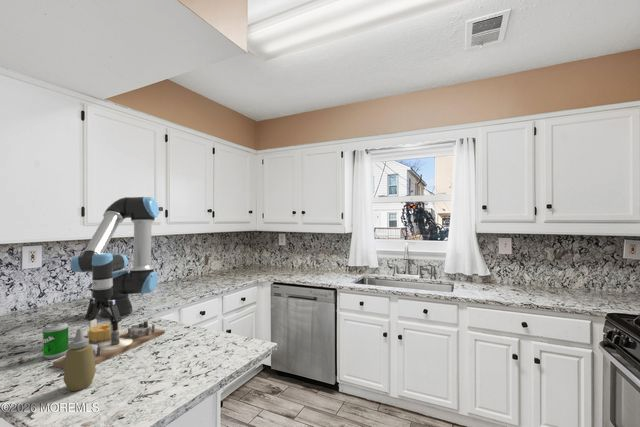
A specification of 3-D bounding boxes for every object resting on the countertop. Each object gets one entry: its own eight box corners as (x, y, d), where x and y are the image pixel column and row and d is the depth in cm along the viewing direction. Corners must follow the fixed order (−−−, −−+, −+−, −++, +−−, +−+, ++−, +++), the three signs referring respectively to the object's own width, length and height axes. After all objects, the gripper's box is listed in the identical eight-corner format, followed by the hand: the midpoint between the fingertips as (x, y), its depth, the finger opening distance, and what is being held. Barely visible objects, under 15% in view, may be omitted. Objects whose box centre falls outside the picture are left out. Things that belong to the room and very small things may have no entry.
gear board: (141, 330, 144) (141, 315, 144) (164, 333, 140) (164, 318, 140) (53, 366, 110) (52, 346, 110) (79, 372, 106) (79, 352, 106)
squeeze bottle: (102, 379, 101) (101, 324, 101) (83, 393, 93) (83, 333, 93) (76, 380, 101) (75, 324, 101) (56, 394, 92) (55, 334, 93)
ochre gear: (107, 330, 144) (106, 322, 144) (123, 333, 141) (123, 324, 141) (82, 339, 134) (82, 330, 134) (99, 342, 130) (99, 333, 130)
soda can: (66, 349, 124) (65, 319, 125) (70, 354, 120) (70, 323, 120) (41, 356, 119) (40, 325, 119) (45, 361, 114) (44, 329, 114)
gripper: (75, 288, 138) (75, 336, 138) (114, 291, 130) (114, 342, 130) (92, 284, 145) (93, 330, 145) (130, 287, 137) (131, 336, 137)
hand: (103, 336), depth 137 cm, fingers open, 12 cm apart
